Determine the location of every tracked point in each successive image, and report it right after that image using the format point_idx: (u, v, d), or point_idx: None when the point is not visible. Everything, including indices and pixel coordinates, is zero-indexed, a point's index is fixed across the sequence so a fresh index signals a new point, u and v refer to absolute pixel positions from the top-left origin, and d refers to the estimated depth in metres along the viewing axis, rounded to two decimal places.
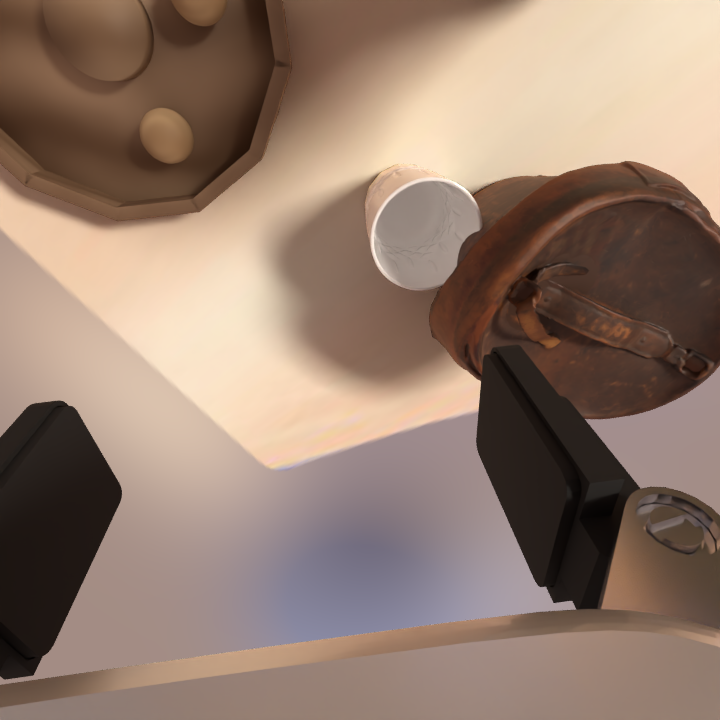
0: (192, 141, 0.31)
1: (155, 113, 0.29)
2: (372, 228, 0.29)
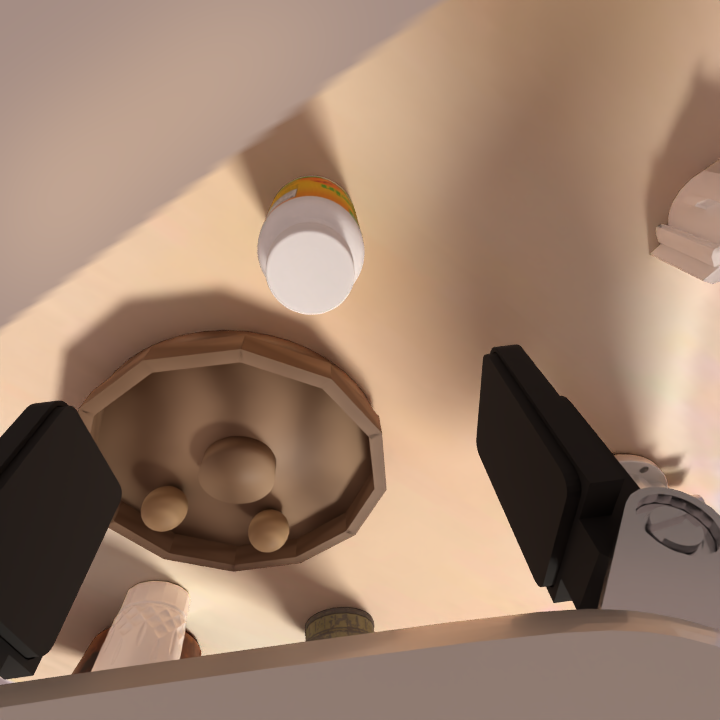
0: None
1: (179, 515, 0.35)
2: None
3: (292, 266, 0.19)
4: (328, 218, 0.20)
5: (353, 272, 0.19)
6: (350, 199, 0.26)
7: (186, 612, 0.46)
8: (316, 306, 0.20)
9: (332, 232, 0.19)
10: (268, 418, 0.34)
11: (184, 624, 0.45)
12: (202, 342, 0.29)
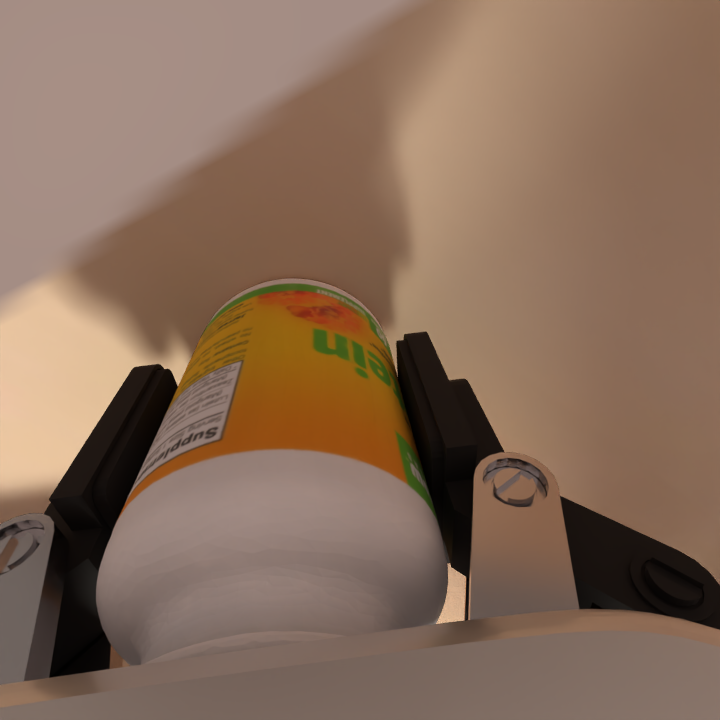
0: None
1: None
2: None
3: None
4: (338, 560, 0.05)
5: None
6: (380, 327, 0.12)
7: None
8: None
9: None
10: None
11: None
12: None
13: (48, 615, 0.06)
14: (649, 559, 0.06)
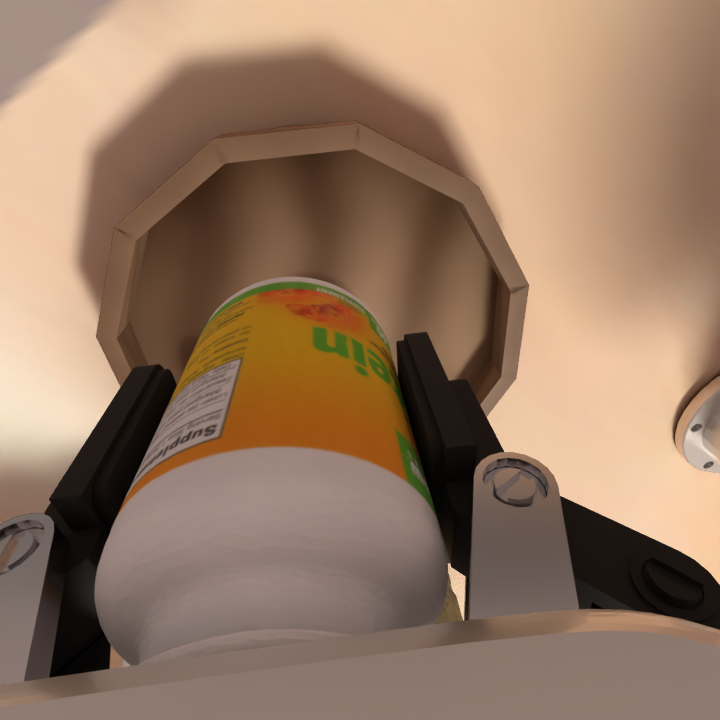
0: None
1: None
2: None
3: None
4: (338, 558, 0.05)
5: None
6: (380, 325, 0.11)
7: None
8: None
9: None
10: (368, 270, 0.25)
11: None
12: (296, 127, 0.20)
13: (49, 615, 0.06)
14: (649, 560, 0.06)
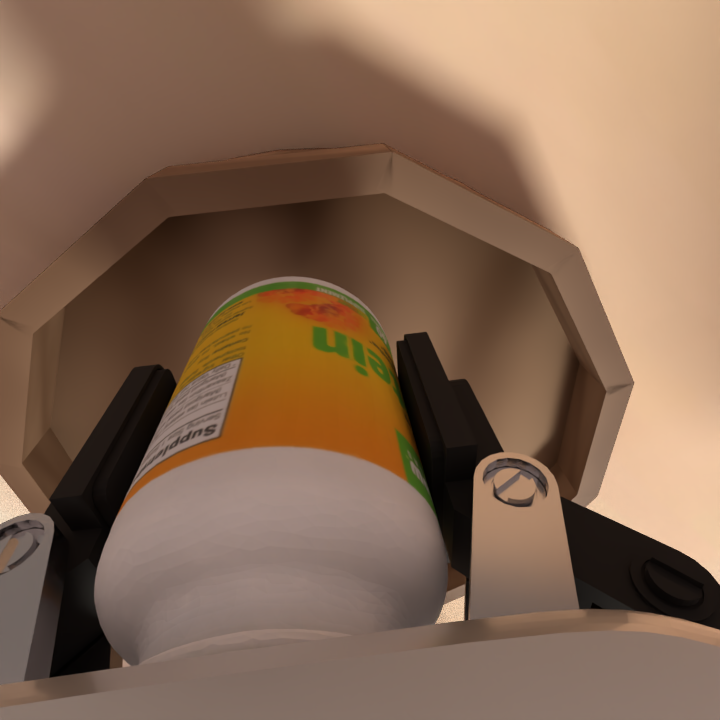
0: None
1: None
2: None
3: None
4: (337, 557, 0.05)
5: None
6: (380, 325, 0.11)
7: None
8: None
9: None
10: (395, 356, 0.17)
11: None
12: (286, 155, 0.12)
13: (48, 615, 0.06)
14: (649, 560, 0.06)
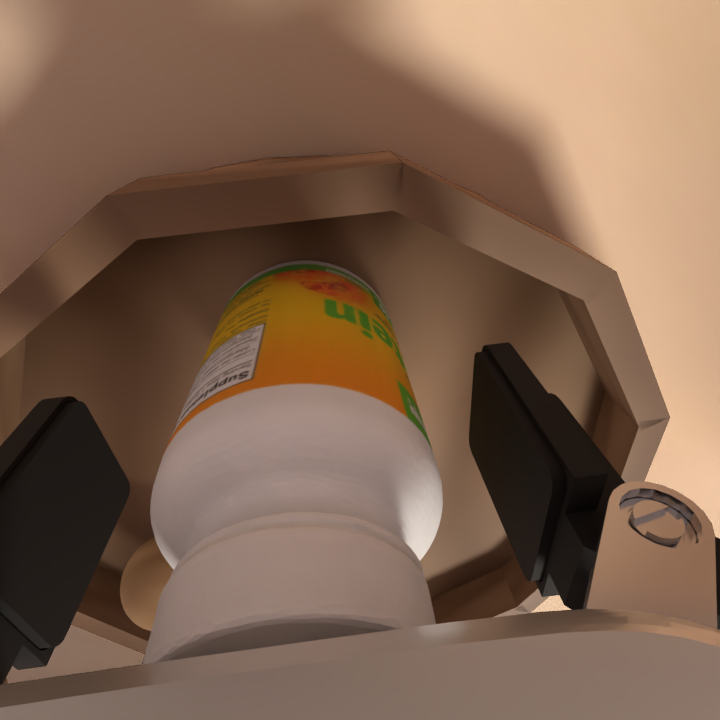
0: None
1: None
2: None
3: None
4: (351, 467, 0.06)
5: None
6: (383, 304, 0.13)
7: None
8: None
9: (371, 571, 0.05)
10: None
11: None
12: (278, 165, 0.11)
13: None
14: None
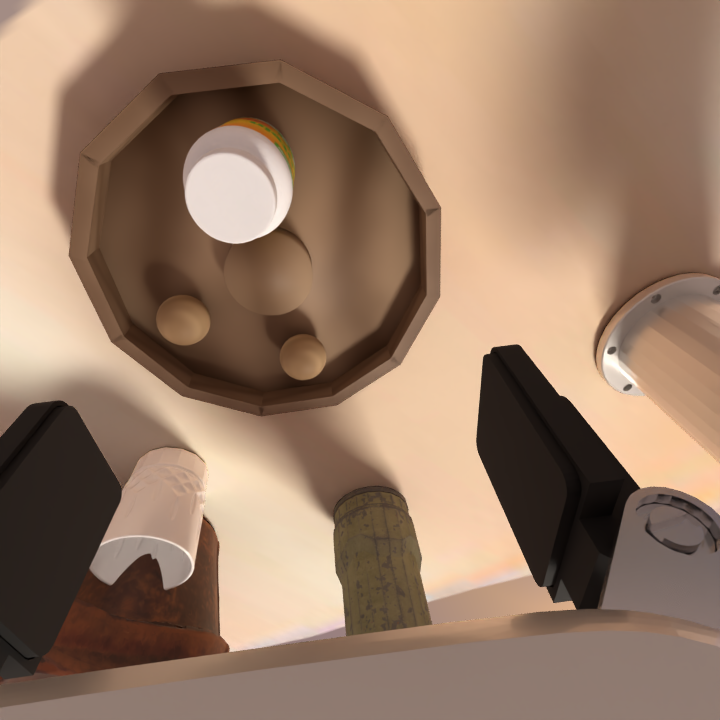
0: None
1: (202, 323, 0.30)
2: (138, 535, 0.32)
3: (211, 191, 0.19)
4: (249, 146, 0.20)
5: (273, 197, 0.19)
6: (286, 141, 0.26)
7: (205, 483, 0.41)
8: (240, 234, 0.20)
9: (249, 156, 0.19)
10: (305, 199, 0.29)
11: (204, 493, 0.40)
12: None
13: None
14: None
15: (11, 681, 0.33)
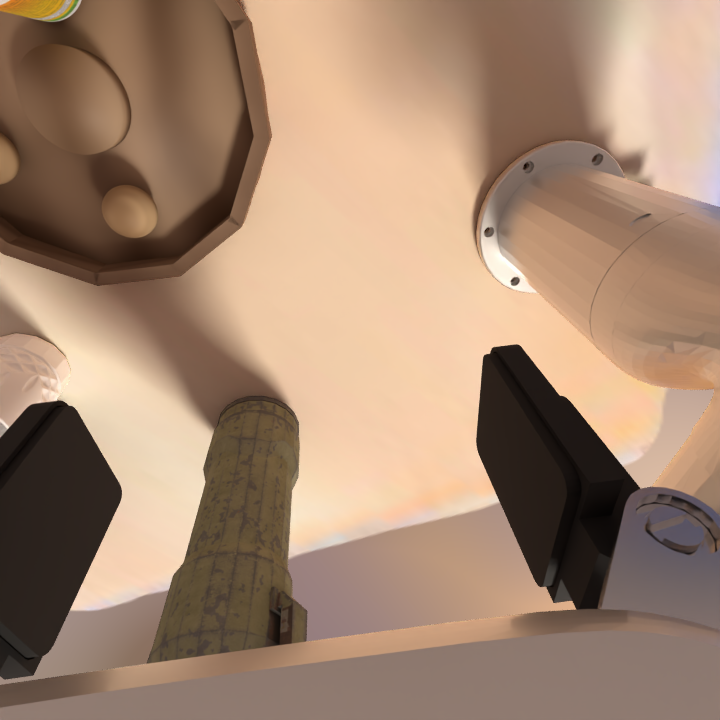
0: None
1: None
2: None
3: None
4: None
5: None
6: None
7: (61, 375, 0.39)
8: None
9: None
10: (105, 13, 0.26)
11: (54, 381, 0.38)
12: None
13: None
14: None
15: None
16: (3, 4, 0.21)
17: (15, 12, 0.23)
